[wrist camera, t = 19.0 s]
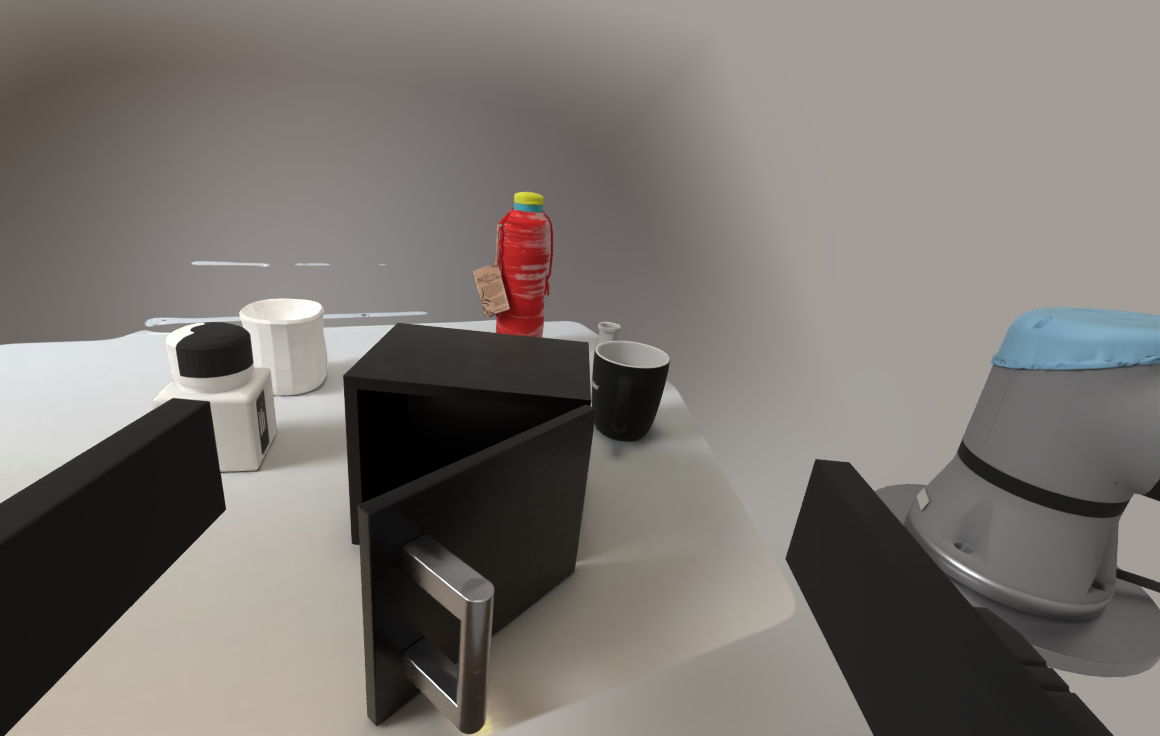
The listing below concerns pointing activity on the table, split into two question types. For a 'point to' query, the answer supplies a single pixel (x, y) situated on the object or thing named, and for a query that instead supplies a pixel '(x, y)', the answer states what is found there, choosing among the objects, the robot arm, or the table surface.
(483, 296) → the water bottle
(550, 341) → the dark grey cabinet
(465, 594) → the door
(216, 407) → the container
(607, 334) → the flask
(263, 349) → the cup
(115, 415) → the table surface
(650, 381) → the mug
